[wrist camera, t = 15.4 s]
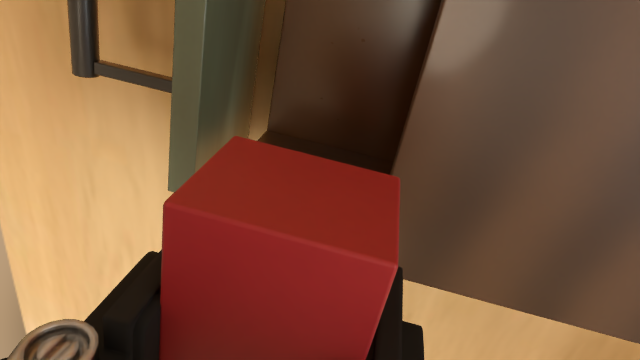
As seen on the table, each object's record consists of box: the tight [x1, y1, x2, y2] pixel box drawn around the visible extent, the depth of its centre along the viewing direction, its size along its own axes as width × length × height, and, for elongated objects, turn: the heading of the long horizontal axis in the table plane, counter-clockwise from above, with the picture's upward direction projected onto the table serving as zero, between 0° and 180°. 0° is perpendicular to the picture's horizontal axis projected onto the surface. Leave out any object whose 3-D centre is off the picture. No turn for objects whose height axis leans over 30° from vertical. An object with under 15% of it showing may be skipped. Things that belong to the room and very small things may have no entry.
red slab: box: [159, 136, 400, 360], centre depth 10 cm, size 4×8×3 cm, turn 169°
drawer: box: [67, 0, 442, 192], centre depth 19 cm, size 21×12×7 cm, turn 79°
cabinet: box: [390, 0, 640, 344], centre depth 18 cm, size 16×14×9 cm
